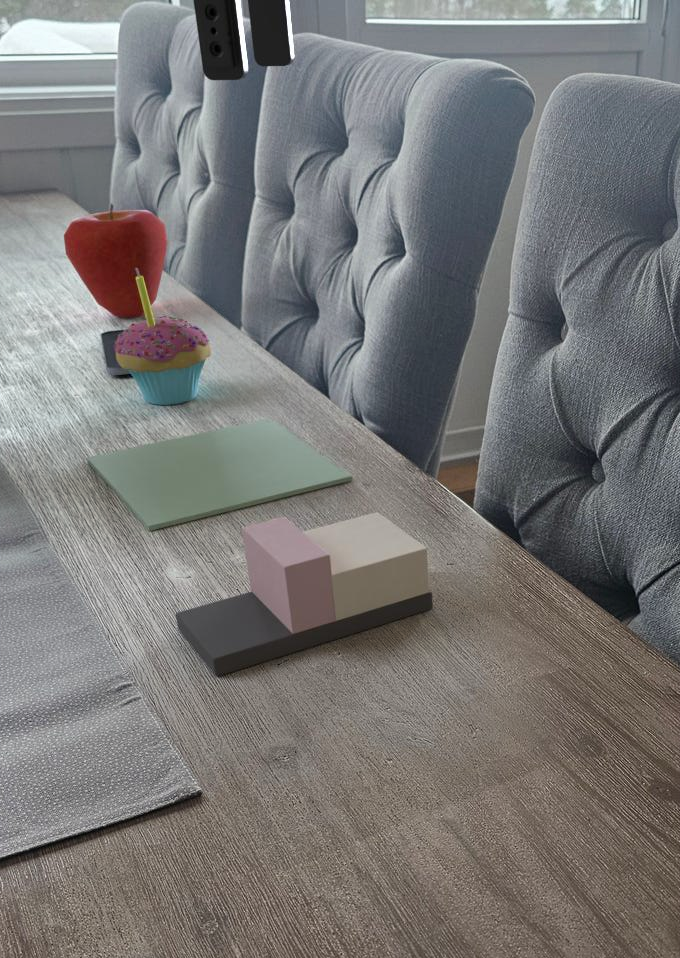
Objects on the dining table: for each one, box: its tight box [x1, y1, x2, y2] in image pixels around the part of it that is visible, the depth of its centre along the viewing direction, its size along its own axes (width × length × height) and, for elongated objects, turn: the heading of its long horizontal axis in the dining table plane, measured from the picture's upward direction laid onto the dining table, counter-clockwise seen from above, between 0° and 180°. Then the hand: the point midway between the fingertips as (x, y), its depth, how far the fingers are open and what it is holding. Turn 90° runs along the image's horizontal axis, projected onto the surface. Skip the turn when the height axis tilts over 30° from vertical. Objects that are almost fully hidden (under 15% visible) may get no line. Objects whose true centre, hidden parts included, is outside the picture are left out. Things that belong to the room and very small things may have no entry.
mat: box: [86, 417, 353, 532], centre depth 89 cm, size 16×16×1 cm
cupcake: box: [114, 268, 212, 406], centre depth 101 cm, size 9×8×12 cm
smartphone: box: [100, 329, 131, 376], centre depth 116 cm, size 8×1×15 cm
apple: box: [63, 202, 169, 318], centre depth 127 cm, size 11×11×12 cm
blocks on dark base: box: [175, 511, 434, 677], centre depth 67 cm, size 14×6×6 cm, turn 122°
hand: (252, 72), depth 62 cm, fingers open, 8 cm apart
